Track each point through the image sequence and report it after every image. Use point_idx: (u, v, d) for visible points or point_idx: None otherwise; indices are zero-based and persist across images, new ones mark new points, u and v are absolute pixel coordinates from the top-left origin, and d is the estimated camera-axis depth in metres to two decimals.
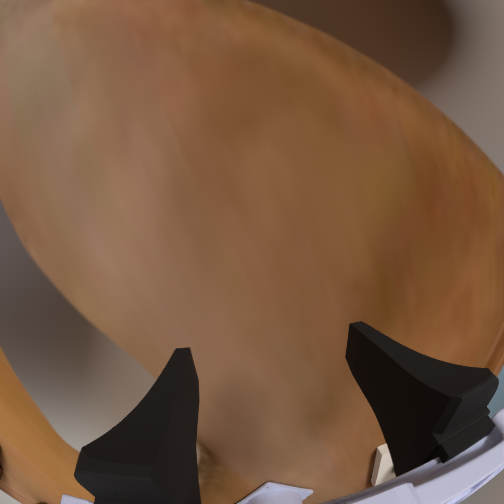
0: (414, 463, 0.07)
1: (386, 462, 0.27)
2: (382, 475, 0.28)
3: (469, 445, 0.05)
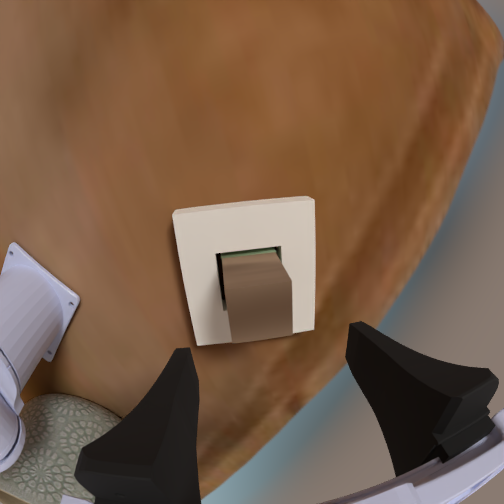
0: (414, 463, 0.07)
1: (194, 254, 0.18)
2: (200, 303, 0.20)
3: (469, 445, 0.05)
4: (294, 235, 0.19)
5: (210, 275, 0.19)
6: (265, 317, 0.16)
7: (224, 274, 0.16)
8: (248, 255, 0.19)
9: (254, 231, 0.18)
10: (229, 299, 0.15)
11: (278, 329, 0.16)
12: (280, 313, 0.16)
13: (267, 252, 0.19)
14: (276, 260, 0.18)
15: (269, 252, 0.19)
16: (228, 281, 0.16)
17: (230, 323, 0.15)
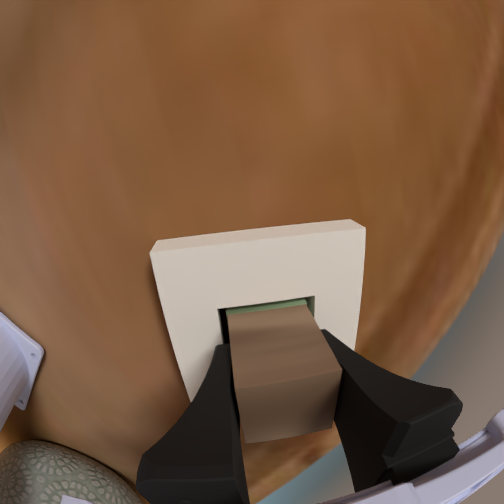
0: (368, 482, 0.06)
1: (185, 309, 0.12)
2: (197, 371, 0.13)
3: (427, 470, 0.05)
4: (334, 279, 0.12)
5: (210, 337, 0.13)
6: (296, 415, 0.09)
7: (232, 351, 0.10)
8: (266, 310, 0.13)
9: (277, 276, 0.12)
10: (242, 399, 0.09)
11: (313, 425, 0.10)
12: (319, 408, 0.09)
13: (294, 305, 0.13)
14: (310, 322, 0.11)
15: (297, 304, 0.13)
16: (240, 368, 0.09)
17: (243, 425, 0.09)
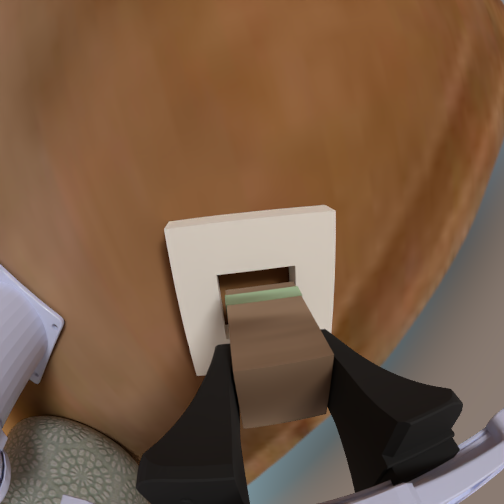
0: (368, 482, 0.06)
1: (191, 275, 0.15)
2: (199, 331, 0.17)
3: (427, 470, 0.05)
4: (311, 252, 0.16)
5: (211, 300, 0.16)
6: (292, 399, 0.10)
7: (231, 338, 0.11)
8: (263, 300, 0.13)
9: (263, 248, 0.15)
10: (240, 382, 0.09)
11: (308, 410, 0.10)
12: (313, 393, 0.10)
13: (290, 296, 0.13)
14: (305, 312, 0.12)
15: (293, 295, 0.13)
16: (237, 352, 0.10)
17: (241, 408, 0.10)
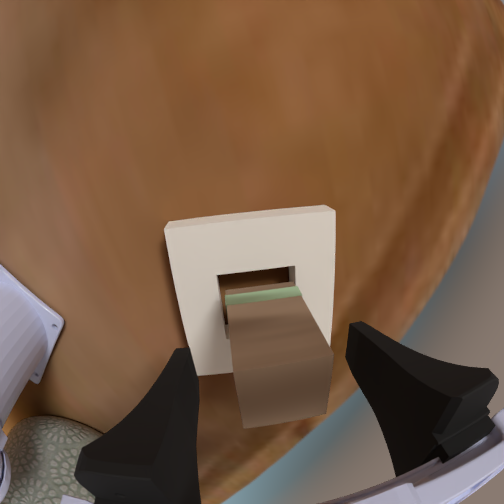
0: (414, 463, 0.07)
1: (191, 275, 0.15)
2: (199, 331, 0.17)
3: (469, 445, 0.05)
4: (310, 252, 0.16)
5: (211, 300, 0.16)
6: (292, 399, 0.10)
7: (231, 338, 0.11)
8: (263, 301, 0.13)
9: (263, 248, 0.15)
10: (240, 382, 0.09)
11: (308, 410, 0.10)
12: (313, 393, 0.10)
13: (290, 296, 0.13)
14: (305, 312, 0.12)
15: (293, 295, 0.13)
16: (237, 352, 0.10)
17: (241, 408, 0.10)
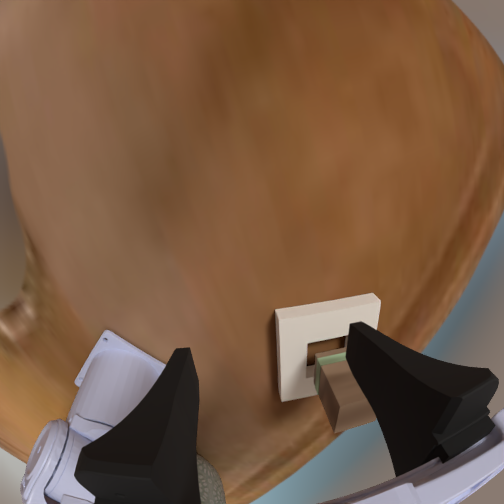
0: (414, 463, 0.07)
1: (291, 344, 0.23)
2: (290, 375, 0.24)
3: (469, 445, 0.05)
4: None
5: (301, 357, 0.24)
6: (361, 415, 0.18)
7: (332, 387, 0.19)
8: (341, 361, 0.21)
9: (337, 326, 0.23)
10: (341, 410, 0.17)
11: (367, 419, 0.18)
12: (371, 411, 0.18)
13: None
14: None
15: None
16: (338, 396, 0.18)
17: (337, 423, 0.18)
